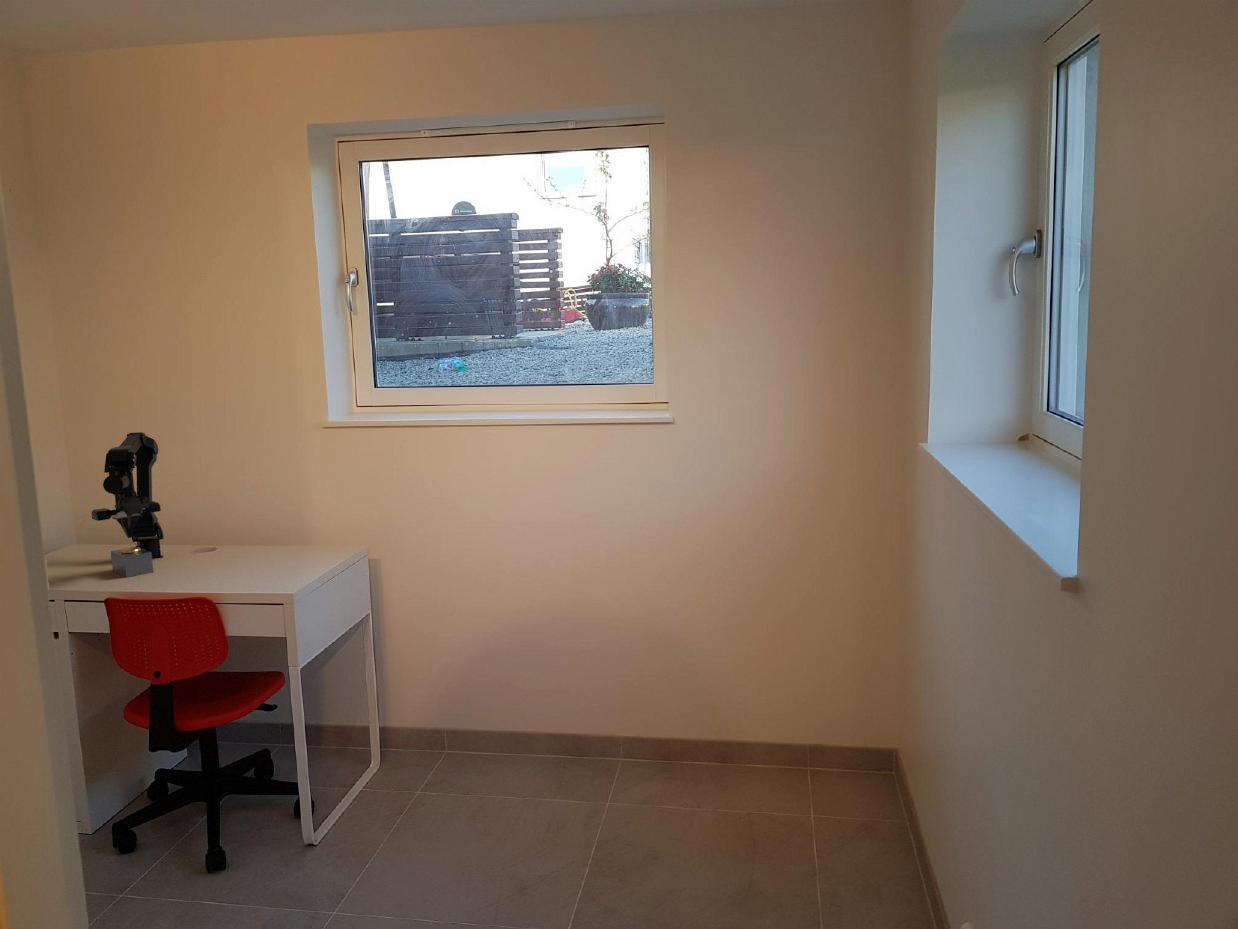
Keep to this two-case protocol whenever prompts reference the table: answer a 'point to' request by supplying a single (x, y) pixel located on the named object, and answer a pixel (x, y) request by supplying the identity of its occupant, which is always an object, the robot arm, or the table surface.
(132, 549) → the bushing
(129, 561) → the jig
